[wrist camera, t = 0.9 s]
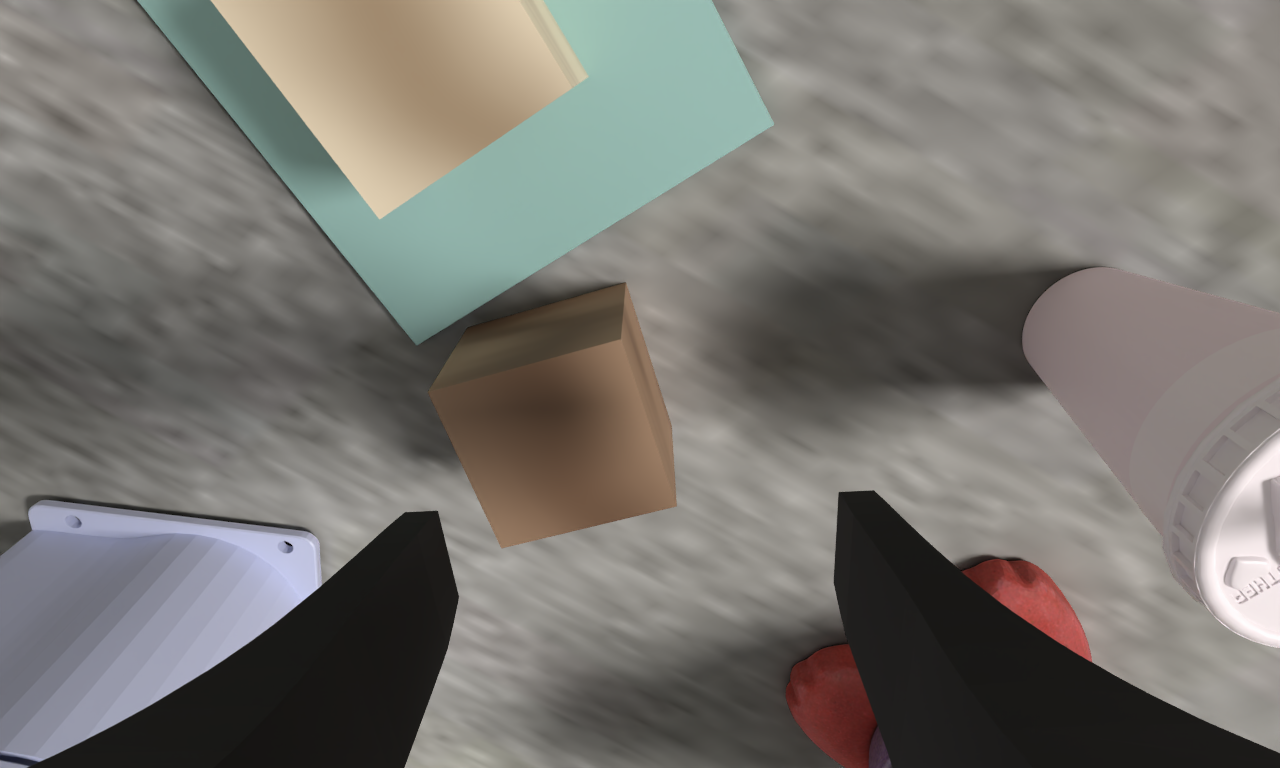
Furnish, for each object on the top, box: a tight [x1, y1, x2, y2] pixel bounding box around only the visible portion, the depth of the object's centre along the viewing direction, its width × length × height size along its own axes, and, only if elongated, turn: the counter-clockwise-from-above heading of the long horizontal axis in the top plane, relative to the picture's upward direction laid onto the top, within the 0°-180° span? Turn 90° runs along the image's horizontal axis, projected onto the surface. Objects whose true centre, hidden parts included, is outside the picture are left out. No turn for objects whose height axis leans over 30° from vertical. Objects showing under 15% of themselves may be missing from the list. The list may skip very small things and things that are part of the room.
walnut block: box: [428, 283, 677, 548], centre depth 21 cm, size 5×5×4 cm
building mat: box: [137, 0, 774, 346], centre depth 18 cm, size 12×12×1 cm
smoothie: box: [1022, 267, 1280, 648], centre depth 15 cm, size 6×6×14 cm
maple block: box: [211, 0, 589, 220], centre depth 16 cm, size 5×5×4 cm
